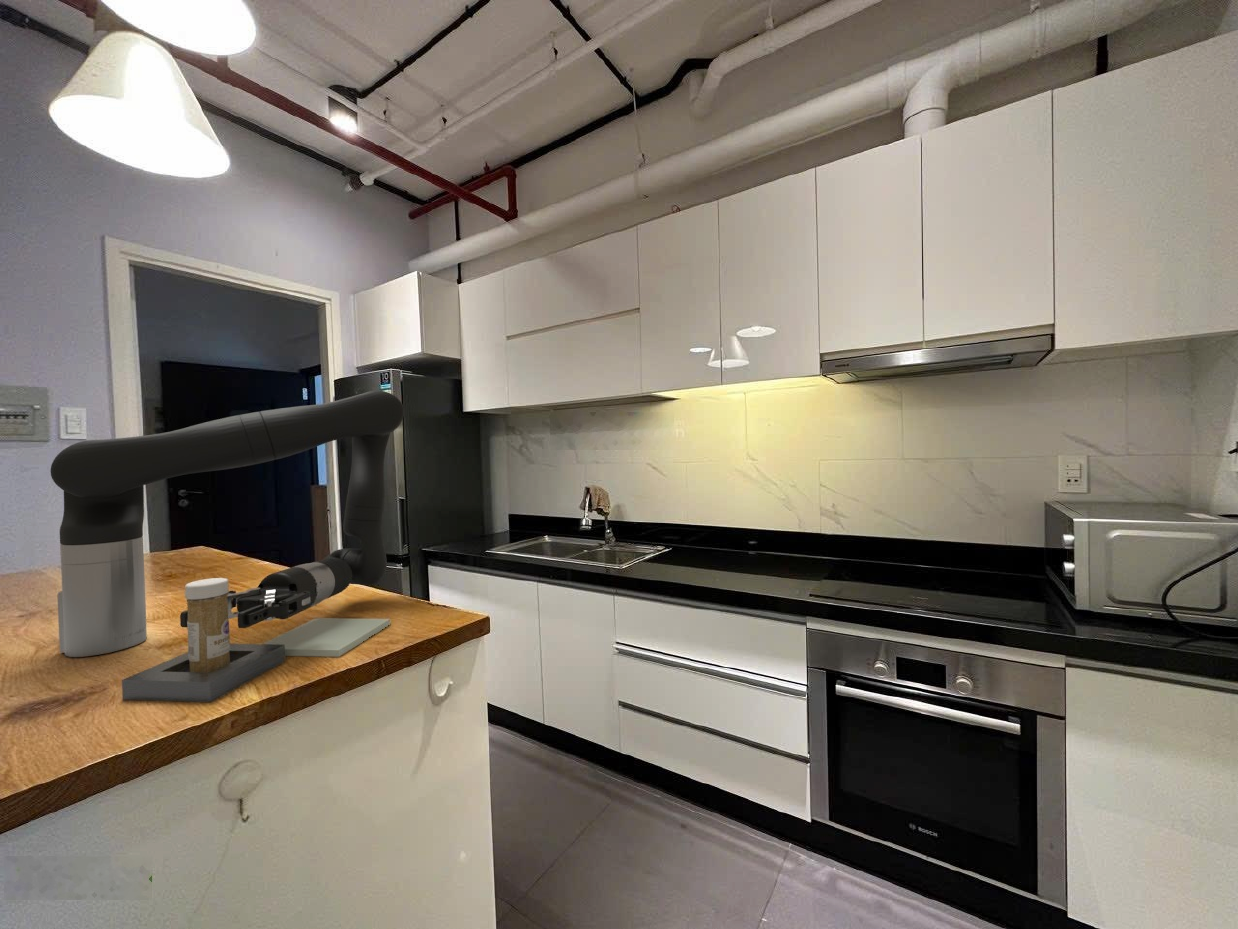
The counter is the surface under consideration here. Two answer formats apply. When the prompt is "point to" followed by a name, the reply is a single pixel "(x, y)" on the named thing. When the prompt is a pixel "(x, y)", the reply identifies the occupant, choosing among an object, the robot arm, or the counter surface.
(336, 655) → the sage board
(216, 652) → the sprinkles bottle
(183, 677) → the metal socket
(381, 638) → the counter surface
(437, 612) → the counter surface
